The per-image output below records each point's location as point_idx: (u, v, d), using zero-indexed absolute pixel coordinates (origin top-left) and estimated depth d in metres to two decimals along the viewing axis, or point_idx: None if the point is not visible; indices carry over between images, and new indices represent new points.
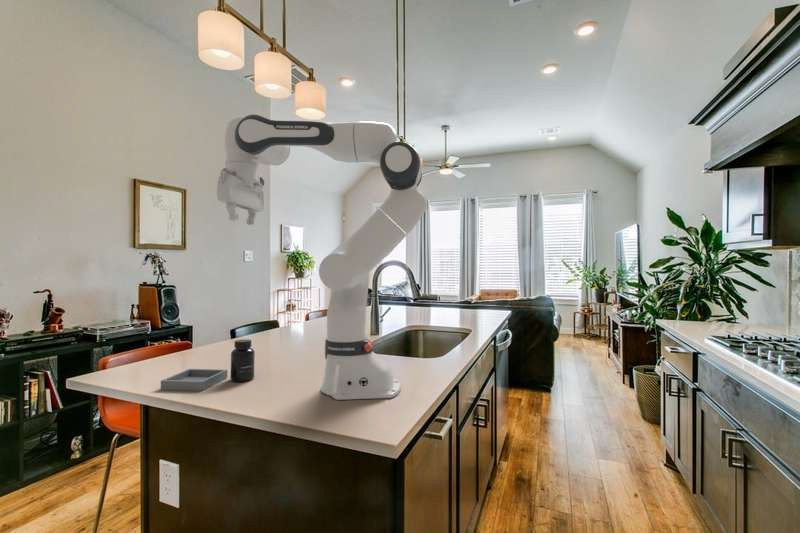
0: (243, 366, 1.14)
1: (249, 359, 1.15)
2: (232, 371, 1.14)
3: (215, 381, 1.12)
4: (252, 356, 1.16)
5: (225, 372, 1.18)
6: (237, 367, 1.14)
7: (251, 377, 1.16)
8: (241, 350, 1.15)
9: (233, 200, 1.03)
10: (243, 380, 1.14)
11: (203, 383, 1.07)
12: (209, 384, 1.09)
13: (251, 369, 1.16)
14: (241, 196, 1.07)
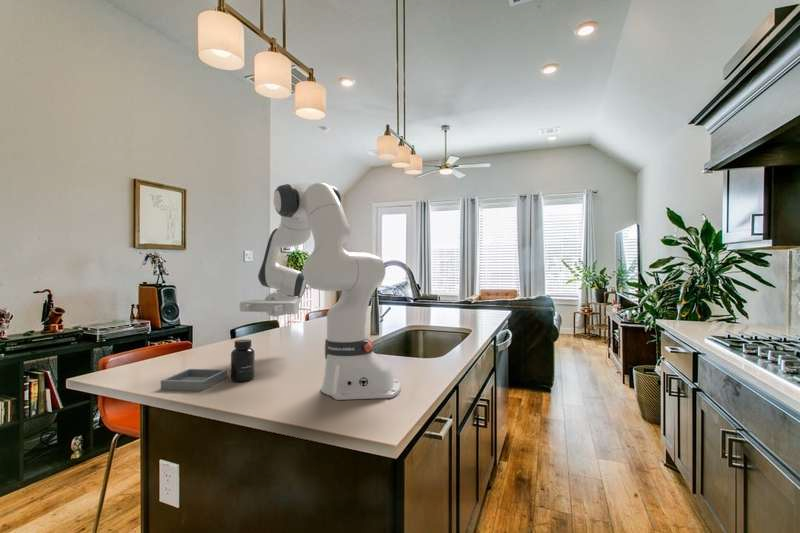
0: (243, 366, 1.14)
1: (249, 359, 1.15)
2: (232, 371, 1.14)
3: (215, 381, 1.12)
4: (252, 356, 1.16)
5: (225, 372, 1.18)
6: (237, 367, 1.14)
7: (251, 377, 1.16)
8: (241, 350, 1.15)
9: (245, 302, 1.35)
10: (243, 380, 1.14)
11: (203, 383, 1.07)
12: (209, 384, 1.09)
13: (251, 369, 1.16)
14: (258, 301, 1.36)
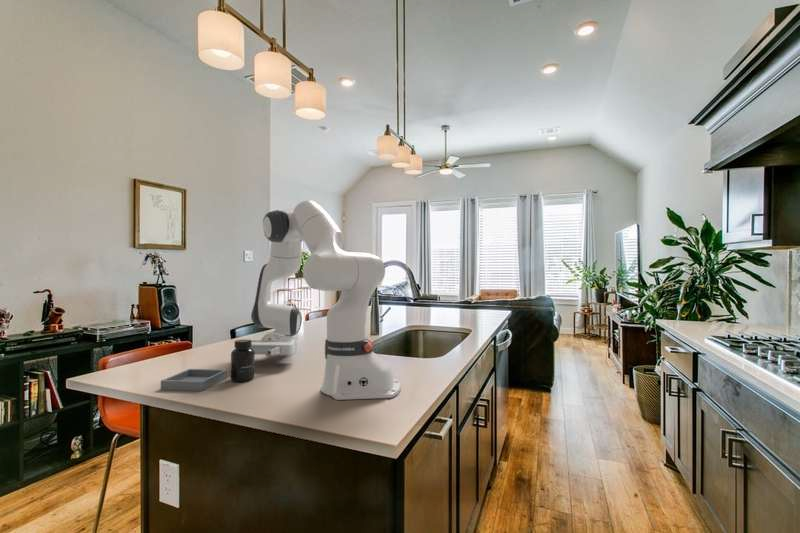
0: (243, 366, 1.14)
1: (249, 359, 1.15)
2: (232, 371, 1.14)
3: (215, 381, 1.12)
4: (252, 356, 1.16)
5: (225, 372, 1.18)
6: (237, 367, 1.14)
7: (251, 377, 1.16)
8: (241, 350, 1.15)
9: None
10: (243, 380, 1.14)
11: (203, 383, 1.07)
12: (209, 384, 1.09)
13: (251, 369, 1.16)
14: (255, 342, 1.32)
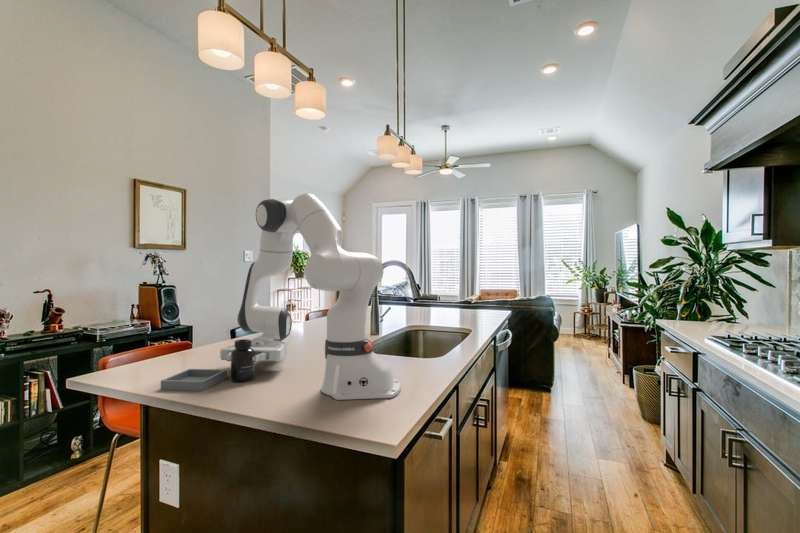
0: (243, 365, 1.14)
1: (249, 359, 1.15)
2: (232, 371, 1.14)
3: (215, 381, 1.12)
4: None
5: (225, 372, 1.18)
6: (237, 367, 1.14)
7: (251, 377, 1.16)
8: (241, 350, 1.15)
9: (226, 349, 1.22)
10: (243, 380, 1.14)
11: (203, 383, 1.07)
12: (209, 384, 1.09)
13: (251, 369, 1.16)
14: None
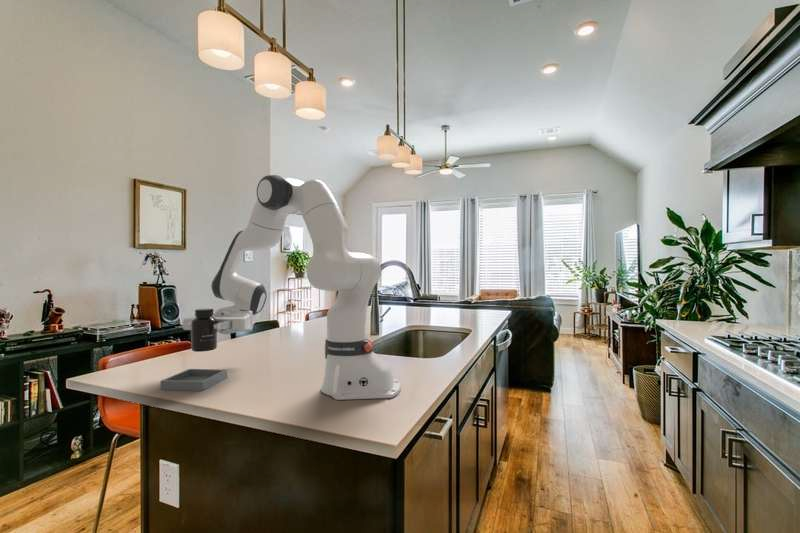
0: (204, 334, 1.10)
1: (210, 328, 1.11)
2: (192, 340, 1.10)
3: (215, 381, 1.12)
4: None
5: (225, 372, 1.18)
6: (197, 336, 1.09)
7: (213, 347, 1.12)
8: (201, 318, 1.10)
9: (188, 318, 1.17)
10: (204, 349, 1.10)
11: (203, 383, 1.07)
12: (209, 384, 1.09)
13: (212, 338, 1.11)
14: None
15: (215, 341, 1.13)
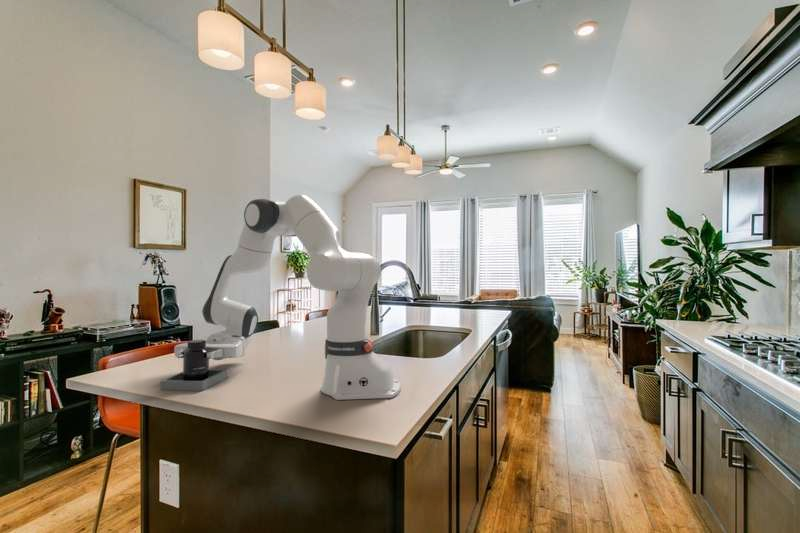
0: (196, 367, 1.10)
1: (202, 360, 1.12)
2: (184, 372, 1.10)
3: (215, 381, 1.12)
4: (206, 357, 1.13)
5: (225, 372, 1.18)
6: (189, 368, 1.10)
7: (204, 379, 1.12)
8: (194, 351, 1.11)
9: (180, 345, 1.18)
10: None
11: (203, 383, 1.07)
12: (209, 384, 1.09)
13: (204, 370, 1.12)
14: None
15: (207, 373, 1.13)
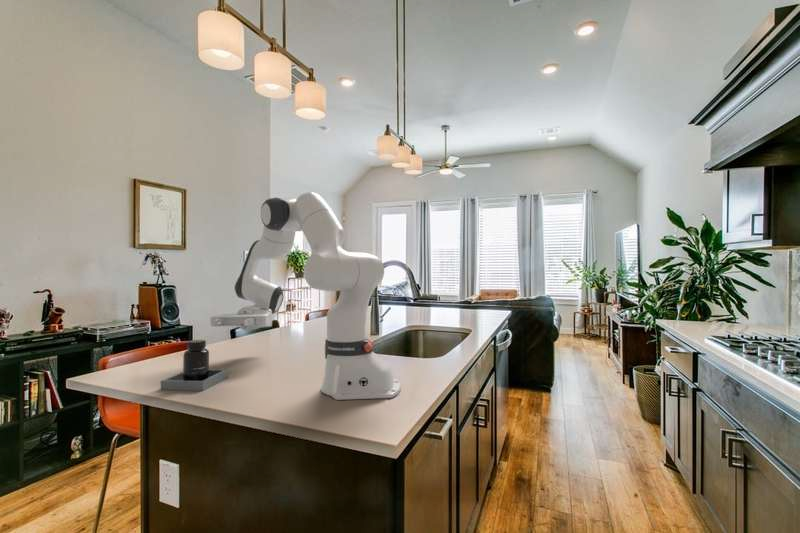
0: (196, 367, 1.10)
1: (202, 360, 1.12)
2: (184, 372, 1.10)
3: (215, 381, 1.12)
4: (206, 357, 1.13)
5: (225, 372, 1.18)
6: (189, 368, 1.10)
7: (204, 379, 1.12)
8: (193, 351, 1.11)
9: (216, 316, 1.32)
10: None
11: (203, 383, 1.07)
12: (209, 384, 1.09)
13: (204, 370, 1.12)
14: (230, 315, 1.33)
15: (207, 373, 1.13)
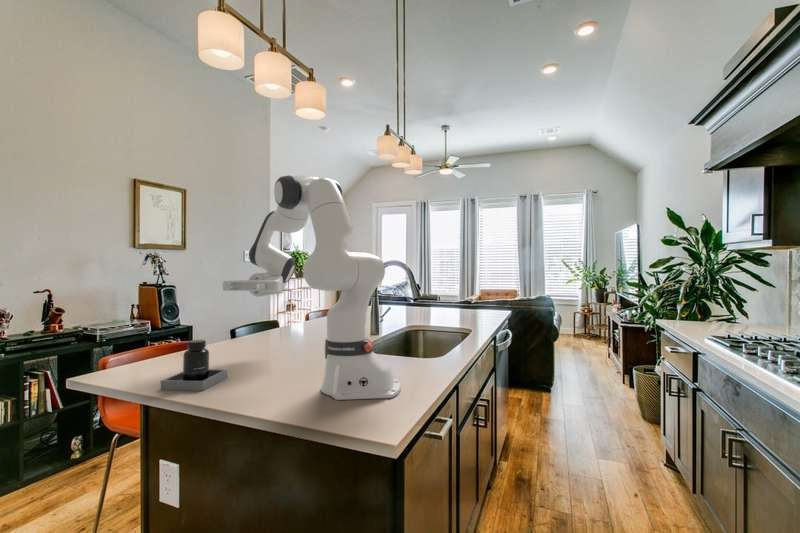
0: (196, 367, 1.10)
1: (202, 360, 1.12)
2: (184, 373, 1.10)
3: (215, 381, 1.12)
4: (206, 357, 1.13)
5: (225, 372, 1.18)
6: (189, 368, 1.10)
7: (204, 379, 1.12)
8: (193, 351, 1.11)
9: (228, 280, 1.34)
10: None
11: (203, 383, 1.07)
12: (209, 384, 1.09)
13: (204, 370, 1.12)
14: (242, 280, 1.36)
15: (207, 373, 1.13)
